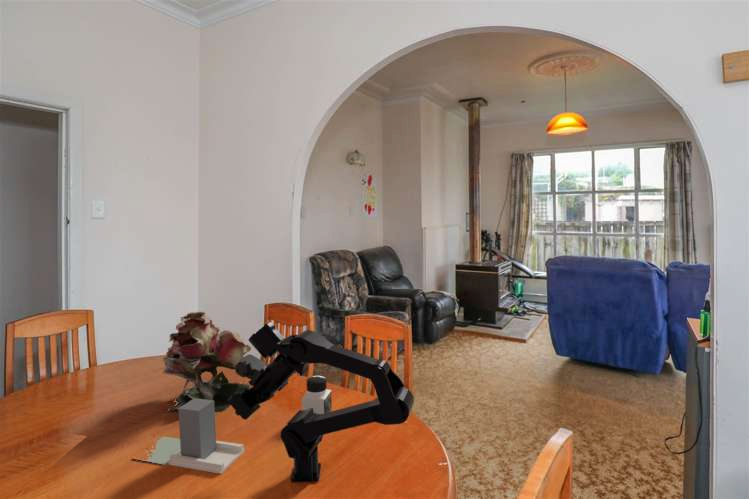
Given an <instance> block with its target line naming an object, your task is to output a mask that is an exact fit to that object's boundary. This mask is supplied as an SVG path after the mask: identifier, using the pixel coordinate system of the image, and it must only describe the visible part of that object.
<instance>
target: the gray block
mask: <svg viewBox="0 0 749 499" xmlns="http://www.w3.org/2000/svg"><path fill="white" fill-rule="evenodd" d="M177 411H178V424H179V439H180V446H181V455H182V456H188V457H194V458H200V459H205V458H206V457H207V456H208V455H209V454H211V453H212V452H213V451H214V450H215V449H216V448H217V447H216V441H217V430H216V416H215V415H216V413H215V406H214V400H206V399H197V398H194V399H192V400H191V401H189V402H188V403H186V404H185V405H183V406H181V407H180V408H178V410H177Z"/></svg>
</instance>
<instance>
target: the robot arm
mask: <svg viewBox="0 0 749 499" xmlns="http://www.w3.org/2000/svg"><path fill="white" fill-rule="evenodd" d="M248 342H249V343H250V344H251V345H252V347H254V349H256V351H257V352H258V353H259V354H260V355H261V356H262V357H263V359H268V357H269V359H271V358H273V357H274V359H273V360H272V361H270V362H269V363H268V364H267V363H265V362H264V361H263V360H262V359H260V358H258V357H257V356H254V355H253V354H247V355H244V357H243V358H242V359H240V361H239V362H238V364H237V365H235V366H234V367H235V368H236V370H234V372H235V374H236V375H238V376H240V377H241V378H243V379H244V378H247V379H248V383H247V384H248V385H249V386H250V389H249V390H247V389H246V388H240V389H239V390H237V391H236V392H235V393H233V394H232V395H231V396H230V397H229V398H228V402H229V403H230V404H231V405H230V407H232V408H233V409H234V410H235V414H236V416H240V417H241V418H242V420H245V421H246V420H248V419H249V418H250V417H251V416H252V415H254V413H255V412H257V411H258V410H259V409H260V408H261V404H263V403H265V402H268V401H269V400H271V399H272V398H273V397H274V396H275V394H276V393H277V392H281V391H282V390H283V389H284V388H285V387H286V386H287V385H288V383H289V379H290V378H291V377H292V376H293V375H294V374H295V373H297V375H299V376H300V377H302V376H304V375H305V374H306V373H307V372H308V371H309V365H308V364H324V365H328V366H330V367H334V368H335V369H339V370H343V371H345V372H347V373H351V374H354V375H356V376H359V377H363V378H365V379H369V380H370V382H371V383H372V385H373V387H374V390H375V393H376V396H377V397H376V398H375V399H373V400H370V401H367V402H366V401H365V402H362V403H358V404H355V405H350V406H346V407H343V408H339V409H335V410H332V411H331V412H327V413H324V414H316V413H314V411H313V408H309V409H307V410H302V409H300V410H298V411H297V412H296V413H295V414H294V415H293V416H292V417H291V418H290V420H288V422H287V423H286V424H285V425H284V427H283V428H282V429H281V431H280V439H281V441H282V443H283V446H284V447H285V450H286V454H287V456H288V458H290V459H293V470H292V474H291V477H290V482H291V483H308V482H319V481H320V477H321V469H322V464H321V462H319V450H318V449H319V448H318V447H319V446H318V445H319V444H320V443H322V440H323V437H324V436H325V435H328V434H332V433H336V432H340V431H344V430H348V429H352V428H356V427H360V426H364V425H369V424H372V423H373V424H374V423H376V424H381V425H383V426H391V425H395V426H396V425H401V424H405V422H406V421H407V420H408V418H409V416H410V413H411V411H412V408H413V406H414V404H415V397H414V395H413V392H412V391H410V389H408V388H406V386H405V384H404V382H403V380H402V379H401V378H400V377H399V376H398V374H396V373H395V371H393V369H392V367H391V366H390V364H389V362H388V361H387V360H385V359H378V358H376V357H373V356H369V355H367V354H363V353H360V352H358V351H354V350H351V349H348V348H345V347H342V346H340V345H336V344H334V343H332V342H330V341H329V340H328V339H327V338H326V337H325V336H323V335H322V334H320V333H318V332H316V331H313V330H311V329H306V330H304V331H302V332H300V333H299V334H290V335H288V336H286V337H285V336H284V335H282V333H281V332H280V331H279V329H278V328H276V326H275V324H273V323H272V321H269V322H266V323H265V324H264V325H263V326H262V327H261V328H260V329H258V330H257V331H256V332H254V333H252V334H251V335H250V337H249V339H248ZM277 354H278V355H277ZM275 356H276V357H275Z"/></svg>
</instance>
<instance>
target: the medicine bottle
mask: <svg viewBox="0 0 749 499" xmlns="http://www.w3.org/2000/svg"><path fill="white" fill-rule="evenodd" d="M327 381H328V380H327V378H326V377H325V376H322V375H313V376H310V377H309V378H307V379H306V392H305V394H304V395H303V396H302V398H301V410H307V409H309V408H313V411H314V413H316V414H324V413H327V412H331V411H333V410H332V409H333V408H332V407H333V405H332V401H333V400H332V389H328V387H327V386H328V385H327Z"/></svg>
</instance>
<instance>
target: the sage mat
mask: <svg viewBox="0 0 749 499" xmlns="http://www.w3.org/2000/svg"><path fill="white" fill-rule="evenodd" d="M155 442H157V443H156V449H155V450H154V449H153V450H150V451H151V452H152V453H153V454H148V455H147V456H149V455H152V458H151V456H150V457H147V458H149V459H147V460H143V459H142V461H148V462H152V463H151V464H154V463H157V464H156V465H159V464H161V465H160V466H166V465H167V464H169V462H170V456H171V455H172V454H176V455H179V454H180V452H181V446H180V438H177V437H171V436H170V437H169V436H163V437H161V438H159V439H158V440H156V441H155ZM152 448H153V446H152ZM146 452H147V453H148V451H146ZM135 459H136V458H135ZM142 461H141V462H142ZM148 462H147V463H148ZM166 463H167V464H166Z"/></svg>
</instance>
